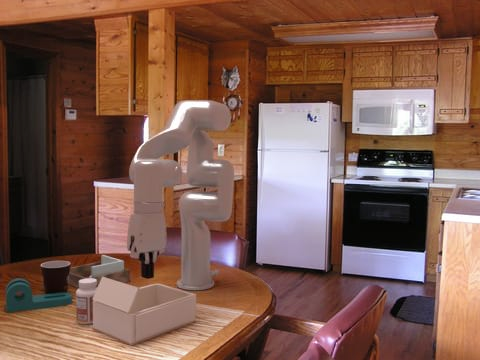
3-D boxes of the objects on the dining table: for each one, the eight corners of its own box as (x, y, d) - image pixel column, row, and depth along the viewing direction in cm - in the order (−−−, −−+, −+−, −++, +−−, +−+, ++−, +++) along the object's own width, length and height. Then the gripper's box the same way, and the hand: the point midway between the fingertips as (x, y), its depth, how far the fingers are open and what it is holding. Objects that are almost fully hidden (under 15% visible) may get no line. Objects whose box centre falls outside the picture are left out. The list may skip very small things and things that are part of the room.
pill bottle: (99, 315, 146) (98, 276, 145) (101, 323, 140) (101, 282, 139) (75, 318, 144) (75, 278, 143) (76, 325, 138) (76, 284, 137)
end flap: (93, 300, 135) (104, 277, 137) (129, 313, 126) (139, 288, 128) (92, 299, 135) (102, 276, 136) (127, 312, 125) (138, 287, 127)
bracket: (6, 313, 147) (6, 285, 147) (6, 306, 153) (5, 279, 153) (73, 305, 155) (73, 279, 154) (70, 298, 161) (70, 273, 160)
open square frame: (100, 272, 191) (100, 261, 190) (130, 281, 180) (130, 269, 180) (59, 281, 178) (59, 270, 177) (88, 291, 167) (88, 279, 167)
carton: (157, 307, 154) (157, 282, 153) (199, 321, 143) (199, 294, 142) (91, 328, 137) (90, 300, 136) (133, 346, 126) (133, 315, 125)
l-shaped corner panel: (103, 275, 187) (103, 254, 186) (124, 282, 179) (123, 260, 178) (73, 282, 178) (72, 260, 177) (93, 290, 170) (93, 267, 169)
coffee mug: (61, 301, 158) (61, 268, 157) (35, 299, 159) (34, 266, 158) (80, 290, 169) (80, 259, 168) (56, 288, 171) (55, 257, 170)
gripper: (160, 204, 145) (159, 270, 147) (115, 209, 134) (115, 280, 135) (179, 207, 141) (178, 275, 142) (134, 212, 129) (134, 285, 130)
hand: (147, 277), depth 139 cm, fingers closed
